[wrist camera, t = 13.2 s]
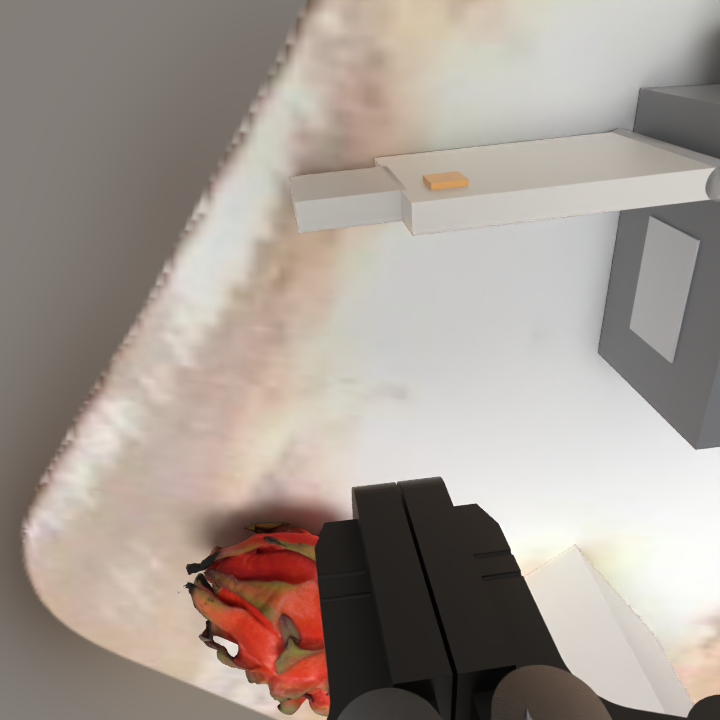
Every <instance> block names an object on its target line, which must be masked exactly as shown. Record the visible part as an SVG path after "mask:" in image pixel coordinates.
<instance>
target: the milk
mask: <svg viewBox="0 0 720 720" xmlns="http://www.w3.org/2000/svg"><path fill="white" fill-rule="evenodd" d="M524 579H525V581H526V583H527V585H528V587H529V589H530V592H531V594H532V596H533V598H534V600H535V602H536V604H537V606H538V609H539V611H540V613H541V615H542V617H543V619H544V621H545V623H546V626H547V628H548V630H549V632H550V634H551V636H552V638H553V640H554V643H555V645H556V647H557V649H558V651H559V653H560V655H561V657H562V659H563V661H564V663H565V665H566V666H567V667H568V669H569V670H570V671H571V673H572V674H573V675H575V676H576V677H578V678H579V679H581V680H582V681H583V682H585V683H586V684H587V685H588V686H589V687H590V688H591V689H592V690H593V691H594V692H595V693H596V694H597V695H598V696H600V697H602V698H604V699H606V700H608V701H610V702H612V703H615V704H618V705H621V706H624V707H628V708H633V709H638V710H644V711H650V712H656V713H662V714H668V715H674V716H680V717H686V718H687V716H688V713H689V711H690V710H691V709H692V707H693V706H694V703H693V701H692V700H691V698H690V696H689V695H688V693H687V691H686V689H685V688H684V686H683V684H682V682H681V681H680V679H679V677H678V675H677V674H676V672H675V670H674V668H673V667H672V665H671V663H670V661H669V660H668V658H667V656H666V654H665V653H664V651H663V649H662V647H661V646H660V644H659V642H658V640H657V639H656V637H655V635H654V634H653V633H652V631H651V630H650V629H649V628H648V627H647V626H646V625H645V623H644V622H643V621H642V620H641V619H640V618H639V617H638V615H637V614H636V613H635V612H634V611H633V610H632V609H631V607H630V606H629V605H628V604H627V603H626V602H625V601H624V599H623V598H622V597H621V596H620V595H619V594H618V593H617V592H616V590H615V589H614V588H613V587H612V586H611V585H610V584H609V582H608V581H607V580H606V579H605V578H604V577H603V576H602V574H601V573H600V572H599V571H598V570H597V569H596V568H595V566H594V565H593V564H592V563H591V562H590V561H589V560H588V558H587V557H586V556H585V555H584V554H583V553H582V552H581V550H580V549H579V548H578V547H577V546H576V545H573V546H572V547H570V548H568V549H567V550H565V551H564V552H562V553H561V554H559V555H558V556H556V557H554V558H553V559H551V560H550V561H548V562H547V563H545V564H543V565H542V566H540V567H539V568H537V569H536V570H534V571H532V572H531V573H529V574H528V575H526V576H525V577H524Z"/></svg>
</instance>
